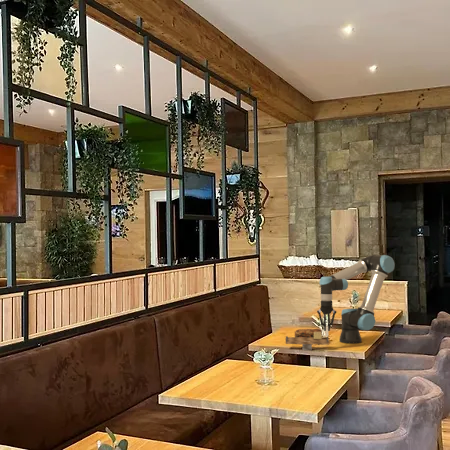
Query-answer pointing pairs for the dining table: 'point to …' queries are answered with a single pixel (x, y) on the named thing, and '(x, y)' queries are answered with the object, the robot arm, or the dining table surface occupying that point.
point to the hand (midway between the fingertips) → (327, 335)
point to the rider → (317, 335)
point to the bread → (306, 333)
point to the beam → (306, 342)
